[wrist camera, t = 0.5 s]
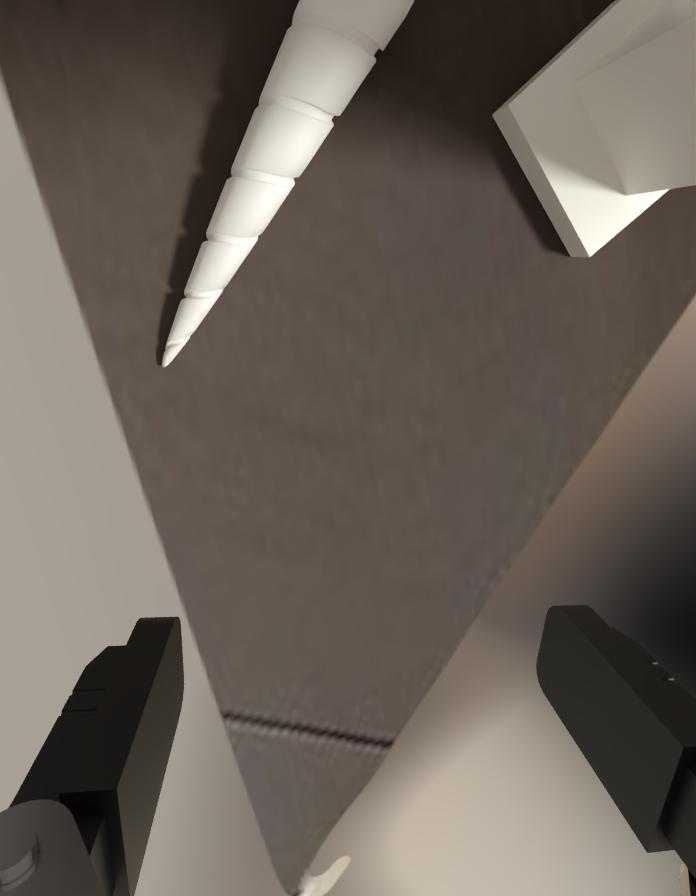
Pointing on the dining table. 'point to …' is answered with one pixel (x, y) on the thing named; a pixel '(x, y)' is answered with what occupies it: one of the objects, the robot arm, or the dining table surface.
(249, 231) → the unicorn horn
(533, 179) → the stand
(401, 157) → the dining table surface
